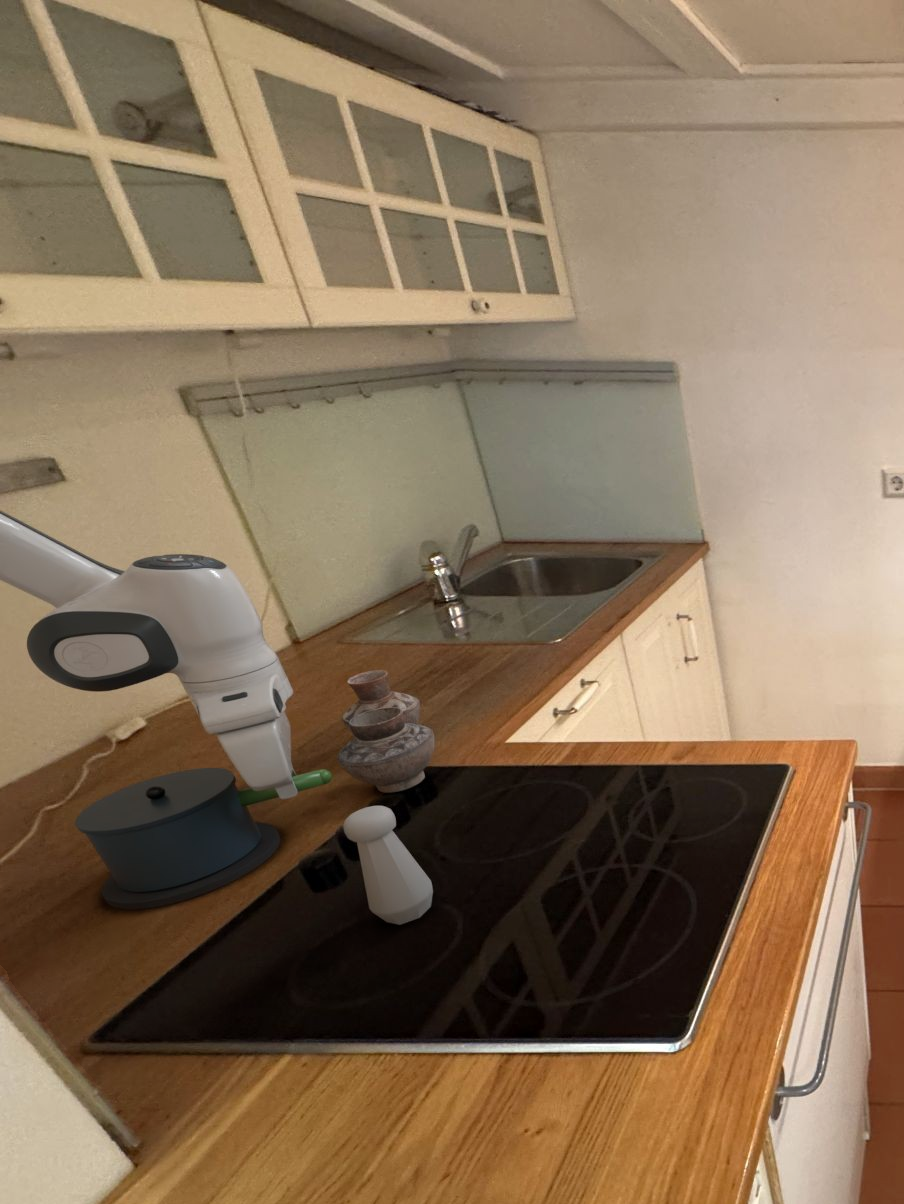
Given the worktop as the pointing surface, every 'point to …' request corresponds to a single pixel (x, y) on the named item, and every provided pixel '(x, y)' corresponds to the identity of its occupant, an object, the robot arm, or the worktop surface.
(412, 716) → the pottery
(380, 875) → the salt shaker
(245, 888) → the worktop surface
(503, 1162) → the worktop surface
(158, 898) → the trivet
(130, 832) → the pot
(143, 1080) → the worktop surface
